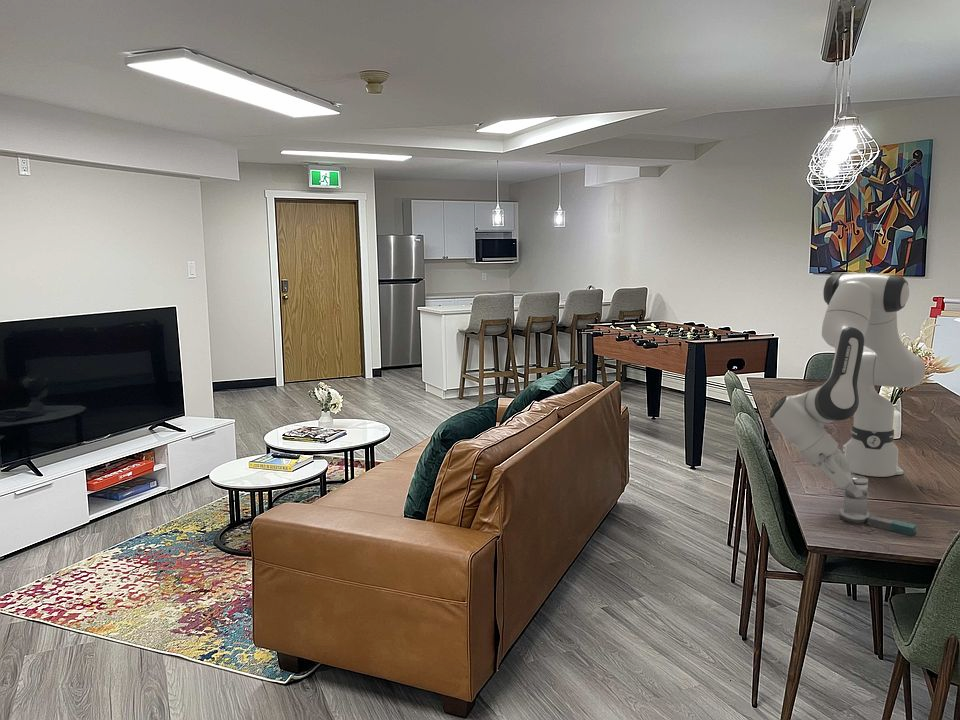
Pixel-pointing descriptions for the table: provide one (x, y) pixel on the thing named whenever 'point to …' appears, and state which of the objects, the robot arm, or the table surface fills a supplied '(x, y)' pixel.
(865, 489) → the cylinder on square base
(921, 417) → the table surface
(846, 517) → the ratchet
